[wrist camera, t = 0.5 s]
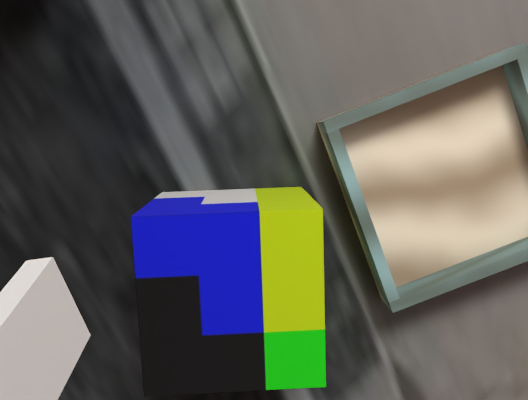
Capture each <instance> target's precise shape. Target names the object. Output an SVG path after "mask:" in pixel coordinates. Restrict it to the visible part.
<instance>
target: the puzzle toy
mask: <svg viewBox="0 0 528 400" xmlns="http://www.w3.org/2000/svg"><path fill="white" fill-rule="evenodd" d="M131 227H132V240H133V254H134V267H135V281H136V294H137V308H138V321H139V335H140V348H141V362H142V375H143V389H144V397H146V396H164V395H183V394H202V393H220V392H239V391H258V390H276V389H295V388H314V387H326V359H325V304H324V248H323V208H322V207H321V206H320V205H319V204H318V203H317V202H316V201H315V200H314V199H313V198H312V197H311V196H310V195H309V194H308V193H307V192H306V191H305V190H304V189H303V188H302V187H285V188H259V189H234V190H208V191H183V192H162V193H160V194H159V195H158V196H157V197H155V198H154V199H153V200H151V201H150V202H149V203H148V204H146V205H145V206H144V207H142V208H141V209H140V210H138V211H137V212H136V213H135V214H133V215H132V216H131Z"/></svg>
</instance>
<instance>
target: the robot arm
mask: <svg viewBox="0 0 528 400" xmlns="http://www.w3.org/2000/svg"><path fill="white" fill-rule="evenodd" d="M90 336H91V335H90V333H89V331H88V329H87V327H86V325H85V322H84V320H83V318H82V316H81V314H80V312H79V310H78V308H77V306H76V304H75V302H74V300H73V298H72V296H71V293H70V291H69V289H68V287H67V285H66V283H65V281H64V279H63V277H62V275H61V273H60V271H59V269H58V267H57V265H56V262H55V260H54V258H53V257H49V258H42V259H35V260H28V261H26V262H25V263H24V264H23V265H22V266H21V268H20V269H19V270H18V271H17V273H16V274H15V275H14V276H13V277H12V279H11V280H10V281H9V282H8V283H7V285H6V286H5V287H4V288H3V290H2V291H1V292H0V400H58V398H59V396H60V394H61V392H62V390H63V388H64V386H65V384H66V382H67V380H68V378H69V376H70V375H71V373H72V371H73V369H74V367H75V365H76V363H77V361H78V359H79V357H80V355H81V353H82V351H83V349H84V347H85V345H86V343H87V341H88V339H89V337H90Z"/></svg>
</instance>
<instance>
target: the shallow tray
mask: <svg viewBox="0 0 528 400" xmlns="http://www.w3.org/2000/svg"><path fill="white" fill-rule="evenodd" d="M317 125H318V128H319V131H320V133H321V136H322V139H323V141H324V144H325V147H326V150H327V152H328V155H329V158H330V161H331V163H332V166H333V169H334V172H335V174H336V177H337V180H338V182H339V185H340V188H341V191H342V193H343V196H344V199H345V202H346V204H347V207H348V210H349V213H350V215H351V218H352V221H353V223H354V226H355V229H356V232H357V234H358V237H359V240H360V243H361V245H362V248H363V251H364V254H365V256H366V259H367V262H368V264H369V267H370V270H371V273H372V275H373V278H374V281H375V284H376V286H377V289H378V292H379V295H380V297H381V299H382V300H383V302H384V303H385V304H386V305H387V307H388V308H389V309H390V310H391V311H392V313H394V312H397V311H399V310H402V309H404V308H407V307H410V306H412V305H415V304H417V303H420V302H423V301H425V300H428V299H430V298H433V297H436V296H438V295H441V294H443V293H446V292H449V291H451V290H454V289H457V288H459V287H462V286H464V285H467V284H470V283H472V282H475V281H477V280H480V279H483V278H485V277H488V276H490V275H493V274H496V273H498V272H501V271H503V270H506V269H509V268H511V267H514V266H516V265H519V264H522V263H524V262H527V261H528V49H527V46H526V43H523V44H519V45H516V46H513V47H510V48H506V49H503V50H500V51H498V52H495V53H493V54H490V55H487V56H485V57H482V58H480V59H477V60H475V61H472V62H470V63H467V64H464V65H462V66H459V67H457V68H454V69H452V70H449V71H447V72H444V73H441V74H439V75H436V76H434V77H431V78H429V79H426V80H424V81H421V82H418V83H416V84H413V85H411V86H408V87H406V88H403V89H401V90H398V91H395V92H393V93H390V94H388V95H385V96H383V97H380V98H378V99H375V100H372V101H370V102H367V103H365V104H362V105H360V106H357V107H355V108H352V109H349V110H347V111H344V112H342V113H339V114H337V115H334V116H331V117H329V118H326V119H324V120H321V121H319V122H317Z"/></svg>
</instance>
